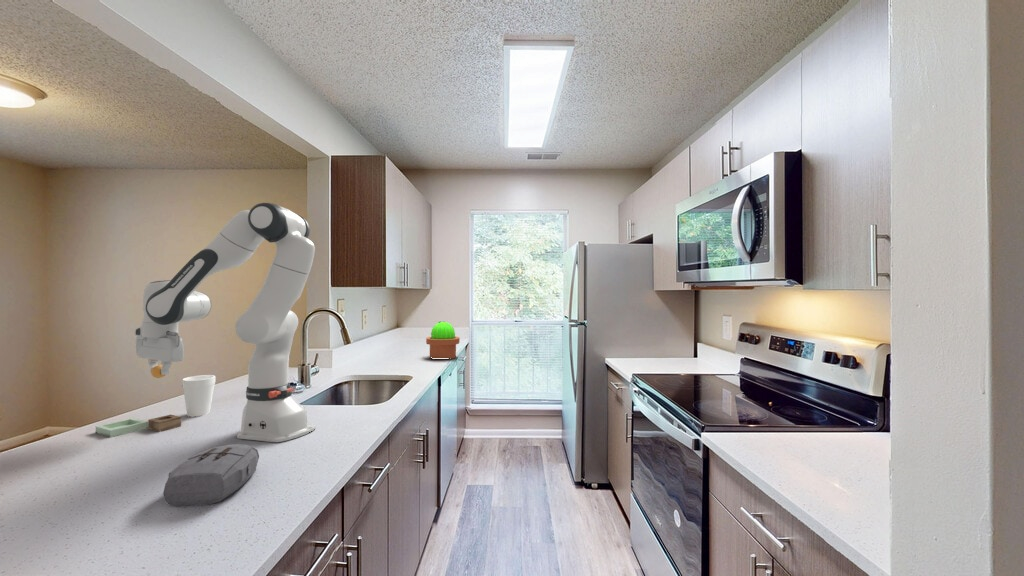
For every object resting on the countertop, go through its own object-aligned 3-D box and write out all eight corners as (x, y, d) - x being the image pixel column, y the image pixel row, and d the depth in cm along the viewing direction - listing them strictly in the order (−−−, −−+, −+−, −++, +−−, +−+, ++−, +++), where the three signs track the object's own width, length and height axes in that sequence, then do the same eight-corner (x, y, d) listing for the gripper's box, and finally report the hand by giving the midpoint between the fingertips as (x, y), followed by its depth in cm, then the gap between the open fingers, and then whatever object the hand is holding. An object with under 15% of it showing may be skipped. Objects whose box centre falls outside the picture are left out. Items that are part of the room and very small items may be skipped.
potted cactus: (457, 360, 257) (457, 322, 257) (423, 360, 256) (423, 321, 256) (460, 355, 278) (461, 319, 279) (429, 355, 278) (429, 319, 278)
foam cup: (176, 415, 141) (177, 378, 141) (206, 408, 149) (207, 374, 149) (190, 419, 136) (190, 381, 136) (220, 412, 145) (220, 376, 145)
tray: (147, 427, 128) (147, 421, 128) (110, 437, 120) (110, 430, 120) (132, 424, 131) (132, 417, 131) (95, 432, 123) (95, 426, 123)
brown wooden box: (181, 426, 130) (181, 416, 130) (158, 431, 124) (158, 422, 124) (170, 423, 132) (170, 414, 132) (148, 429, 127) (148, 419, 127)
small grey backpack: (232, 505, 83) (271, 464, 102) (232, 465, 83) (271, 432, 103) (148, 512, 80) (205, 468, 100) (149, 470, 80) (206, 435, 100)
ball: (170, 377, 129) (170, 364, 129) (155, 379, 126) (155, 366, 126) (163, 375, 131) (163, 363, 131) (148, 378, 127) (148, 365, 127)
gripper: (190, 331, 127) (189, 375, 127) (155, 328, 135) (154, 369, 135) (167, 333, 121) (166, 378, 121) (131, 329, 129) (130, 372, 129)
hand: (159, 373), depth 128 cm, fingers closed on ball, 4 cm apart
